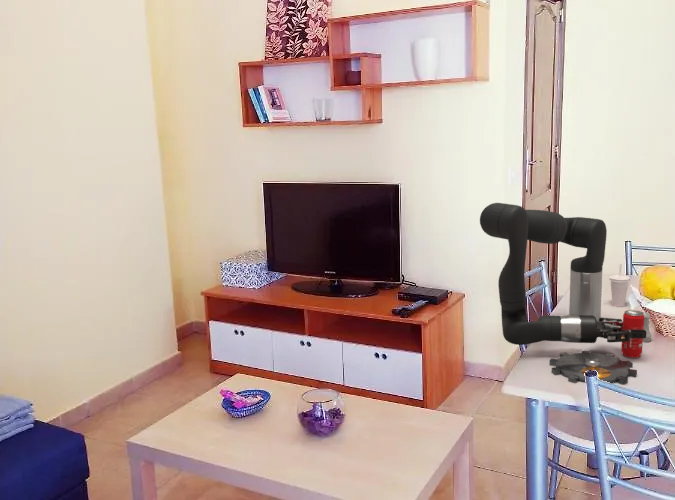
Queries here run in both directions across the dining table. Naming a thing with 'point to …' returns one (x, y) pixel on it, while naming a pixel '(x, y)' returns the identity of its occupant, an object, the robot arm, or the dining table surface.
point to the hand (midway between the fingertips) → (642, 330)
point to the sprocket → (592, 367)
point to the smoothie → (619, 288)
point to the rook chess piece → (647, 327)
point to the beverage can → (636, 322)
